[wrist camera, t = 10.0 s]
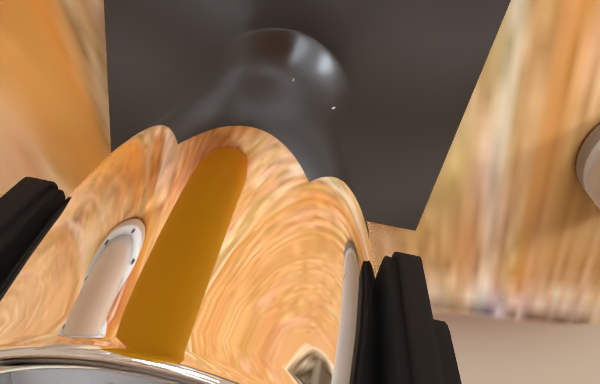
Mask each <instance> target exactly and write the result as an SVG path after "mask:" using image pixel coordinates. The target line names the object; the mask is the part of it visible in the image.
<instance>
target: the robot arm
mask: <svg viewBox="0 0 600 384" xmlns="http://www.w3.org/2000/svg"><path fill="white" fill-rule="evenodd" d="M64 201H65V194H64V192H63V191H62V190H58V186H57V184H56V183H55V182H52V181H47V180H42V179H37V178H32V177H25V178H23V179H22V180H21V181H19V182H18V183H17V184H16V185H15V186H14V187H12V188H11V189H10V190H9V191H8V192H7V193H6V194H4V195H3V196H2V197H1V198H0V281H1V280H2V279H3V277H4V276H5V275H6V273H7V272H8V271H9V270H10V268H11V267H12V266H13V264H14V263H15V262H16V260H17V259H18V258H19V256H20V255H21V254H22V252H23V251H24V250H25V249H26V247H27V246H28V245H29V243H30V242H31V241H32V239H33V238H34V237H35V235H36V234H37V233H38V232H39V231H40V230H41V228H42V227H43V226H44V225H45V224H46V222H47V221H48V220H49V219H50V218H51V217H52V215H53V214H54V213H55V212H56V211H57V210H58V208H59V207H60V206H61V205H62V204H63V202H64ZM375 284H376V312H377V370H376V384H461V380H460V375H459V371H458V366H457V362H456V357H455V353H454V349H453V344H452V340H451V335H450V331H449V328H448V325H447V324H446V323H445V322H444V321H438V320H434V319H433V315H432V310H431V305H430V300H429V295H428V290H427V285H426V279H425V274H424V269H423V264H422V260H421V258H420V257H419V256H415V255H410V254H405V253H400V252H394V254H393V255H392V257H388V256H385V257H384V258H383V260H382V263H381V265H380V268H379V271H378V273H377V276H376V279H375Z"/></svg>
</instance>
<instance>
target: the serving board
mask: <svg viewBox="0 0 600 384" xmlns="http://www.w3.org/2000/svg"><path fill="white" fill-rule="evenodd" d="M510 1H511V0H104V9H105V30H106V52H107V73H108V94H109V115H110V136H111V153H112V152H113V151H114V150H116V149H117V148H118V147H119V146H121V145H122V144H123V143H125V142H126V141H127V140H129V139H130V138H131V137H133V136H134V135H135V134H137V133H138V132H140V131H141V130H142V129H144V128H145V127H146V126H148V125H149V124H150V123H152V122H153V121H155V120H157V119H158V118H160V117H162V116H163V115H165V114H166V113H168V112H170V111H171V110H173V109H175V108H176V107H178V106H180V105H181V104H183V103H185V102H187V101H188V100H190V99H192V98H193V97H195V96H197V95H199V94H200V93H201V89H202V85H203V81H204V78H205V75H206V72H207V70H208V68H209V66H210V64H211V62H212V60H213V59H214V57H215V56H216V55H217V53H218V52H219V51H220V50H221V49H222V48H223V47H224V46H225V45H226V44H227V43H228V42H230V41H231V40H233V39H234V38H236V37H238V36H239V35H241V34H244V33H246V32H249V31H252V30H256V29H262V28H285V29H291V30H295V31H298V32H301V33H303V34H306V35H308V36H310V37H312V38H313V39H315V40H317V41H318V42H320V43H321V44H322V45H324V46H325V47H326V48H327V49H328V50H329V51H330V52H331V53H332V54H333V55H334V56H335V58H336V59H337V60H338V62H339V63H340V65H341V66H342V68H343V70H344V72H345V74H346V76H347V79H348V82H349V85H350V89H351V96H352V110H351V117H350V122H349V125H348V128H347V131H346V133H345V136H344V138H343V140H342V142H341V144H342V148H343V150H344V153H345V155H346V158H347V161H348V163H349V166H350V169H351V172H352V175H353V177H354V180H355V183H356V186H357V189H358V191H359V195H360V198H361V202H362V206H363V210H364V214H365V218H366V221H370V222H375V223H380V224H385V225H390V226H394V227H399V228H404V229H409V230H414V231H415V230H416V228H417V226H418V224H419V221H420V219H421V216H422V214H423V212H424V209H425V207H426V204H427V202H428V199H429V197H430V195H431V192H432V190H433V187H434V185H435V182H436V180H437V178H438V175H439V173H440V170H441V168H442V166H443V163H444V161H445V158H446V156H447V153H448V151H449V149H450V146H451V144H452V141H453V139H454V136H455V134H456V132H457V129H458V127H459V124H460V122H461V120H462V117H463V115H464V112H465V110H466V107H467V105H468V103H469V100H470V98H471V95H472V93H473V91H474V88H475V86H476V83H477V81H478V78H479V76H480V74H481V71H482V69H483V66H484V64H485V61H486V59H487V57H488V54H489V52H490V49H491V47H492V45H493V42H494V40H495V37H496V35H497V32H498V30H499V28H500V25H501V23H502V20H503V18H504V15H505V13H506V11H507V8H508V6H509V3H510Z"/></svg>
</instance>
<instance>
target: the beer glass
mask: <svg viewBox="0 0 600 384" xmlns="http://www.w3.org/2000/svg"><path fill="white" fill-rule="evenodd" d="M351 110H352V96H351V89H350V85H349V82H348V79H347V76H346V74H345V72H344V70H343V68H342V66H341V65H340V63H339V62H338V60H337V59H336V58H335V56H334V55H333V54H332V53H331V52H330V51H329V50H328V49H327V48H326V47H325V46H324V45H322V44H321V43H320V42H318V41H317V40H315V39H313V38H312V37H310V36H308V35H306V34H303V33H301V32H298V31H295V30H291V29H285V28H262V29H256V30H252V31H249V32H246V33H244V34H241V35H239V36H238V37H236V38H234V39H233V40H231V41H230V42H228V43H227V44H226V45H225V46H224V47H223V48H222V49H221V50H220V51H219V52H218V53H217V55H216V56H215V57H214V59H213V60H212V62H211V64H210V66H209V68H208V70H207V72H206V75H205V78H204V81H203V85H202V89H201V93H200V94H199V95H197V96H195V97H193V98H192V99H190V100H188V101H187V102H185V103H183V104H181V105H180V106H178V107H176V108H175V109H173V110H171V111H170V112H168V113H166V114H165V115H163V116H162V117H160V118H158V119H157V120H155V121H153V122H152V123H150V124H149V125H148V126H146V127H145V128H144V129H142V130H141V131H140V132H138V133H137V134H135V135H134V136H133V137H131V138H130V139H129V140H127V141H126V142H125V143H123V144H122V145H121V146H119V147H118V148H117V149H116V150H114V151H113V152H112V153H111V154H110V155H109V156H108V157H107V158H106V159H105V160H104V161H103V162H102V163H101V164H100V165H99V166H98V167H97V168H96V169H95V170H94V171H93V172H92V173H91V174H90V175H89V176H88V177H87V178H86V179H85V180H84V181H83V182H81V183H80V184H79V185H78V186H77V187H76V189H75V190H74V191H73V192H72V193H71V194H70V195H69V197H68V198H67V199H66V200H65V201H64V202H63V204H62V205H61V206H60V207H59V208H58V210H57V211H56V212H55V213H54V214H53V215H52V217H51V218H50V219H49V220H48V221H47V222H46V224H45V225H44V226H43V227H42V228H41V230H40V231H39V232H38V233H37V234H36V235H35V237H34V238H33V239H32V241H31V242H30V243H29V245H28V246H27V247H26V249H25V250H24V251H23V252H22V254H21V255H20V256H19V258H18V259H17V260H16V262H15V263H14V264H13V266H12V267H11V268H10V270H9V271H8V272H7V273H6V275H5V276H4V277H3V279H2V280H1V281H0V384H376V370H377V312H376V284H375V275H374V266H373V257H372V248H371V240H370V234H369V230H368V226H367V222H366V218H365V214H364V210H363V206H362V202H361V198H360V195H359V191H358V189H357V186H356V183H355V180H354V177H353V175H352V172H351V169H350V166H349V163H348V161H347V158H346V155H345V153H344V150H343V148H342V144H341V142H342V140H343V138H344V136H345V133H346V131H347V128H348V125H349V122H350V117H351Z"/></svg>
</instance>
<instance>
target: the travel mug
mask: <svg viewBox="0 0 600 384" xmlns="http://www.w3.org/2000/svg"><path fill="white" fill-rule="evenodd" d="M576 174H577V178H578V181H579V183H580V184H581V186H582V188H583V189H584V191H585V192H586V193H587V194H588V196H589V197H590V198H591V199H592V200H593V201H594V203H595V204H596V206H597V207H598V208H599V210H600V124H599V125H598V126H597V127H596V128H595V129H594V130H593V131H592V132H591V133H590V134H589V136H588V137H587V138H586V140H585V141H584V143H583V145H582V147H581V149H580V151H579V154H578V158H577V161H576Z"/></svg>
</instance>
